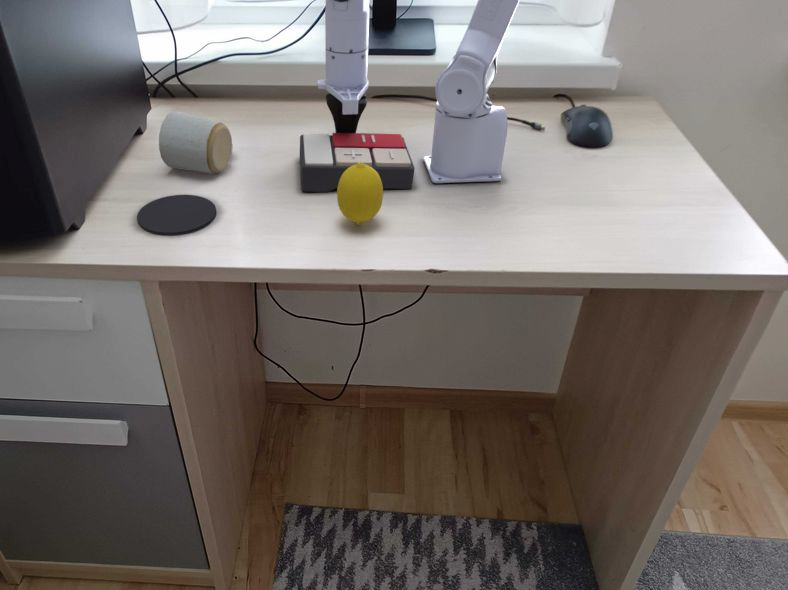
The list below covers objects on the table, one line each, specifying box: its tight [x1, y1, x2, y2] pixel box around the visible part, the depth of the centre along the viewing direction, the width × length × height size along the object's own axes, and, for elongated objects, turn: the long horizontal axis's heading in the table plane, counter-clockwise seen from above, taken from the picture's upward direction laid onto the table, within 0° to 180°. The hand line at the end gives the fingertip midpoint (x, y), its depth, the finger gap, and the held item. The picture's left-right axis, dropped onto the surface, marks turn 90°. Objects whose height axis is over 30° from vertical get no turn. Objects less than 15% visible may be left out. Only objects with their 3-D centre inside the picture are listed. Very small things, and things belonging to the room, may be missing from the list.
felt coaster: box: [136, 194, 217, 236], centre depth 83 cm, size 10×10×1 cm
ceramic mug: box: [158, 110, 234, 174], centre depth 92 cm, size 11×8×8 cm
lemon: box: [336, 162, 384, 226], centre depth 78 cm, size 6×6×8 cm
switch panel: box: [299, 132, 415, 193], centre depth 90 cm, size 11×4×15 cm
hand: (345, 145), depth 95 cm, fingers closed
